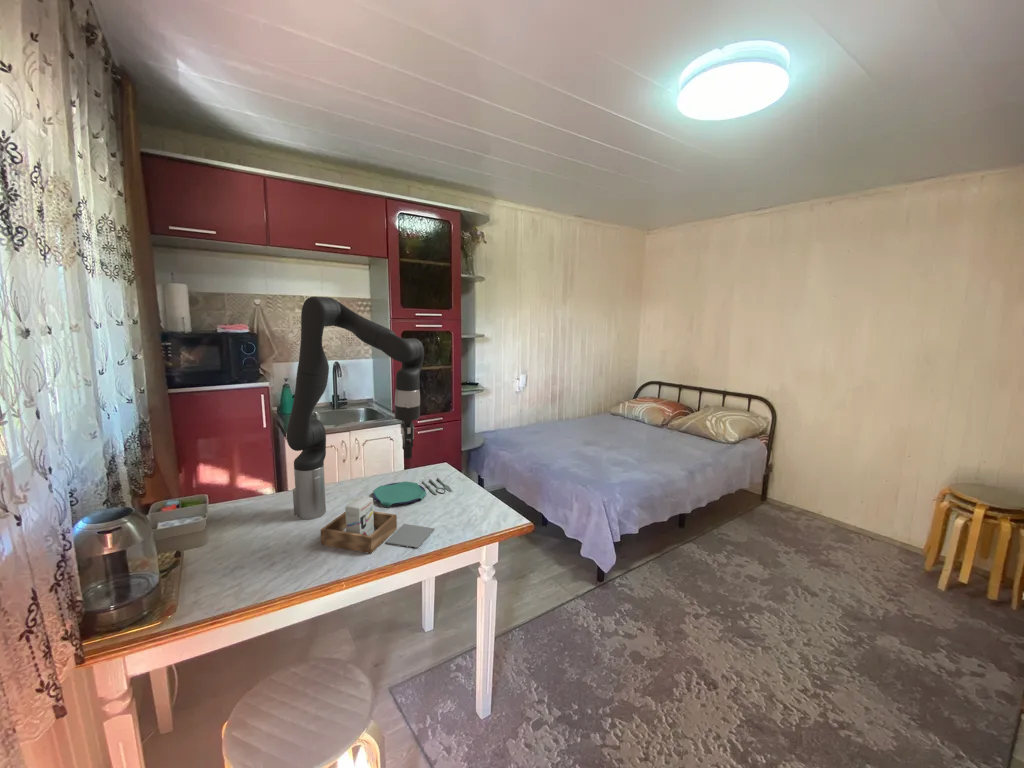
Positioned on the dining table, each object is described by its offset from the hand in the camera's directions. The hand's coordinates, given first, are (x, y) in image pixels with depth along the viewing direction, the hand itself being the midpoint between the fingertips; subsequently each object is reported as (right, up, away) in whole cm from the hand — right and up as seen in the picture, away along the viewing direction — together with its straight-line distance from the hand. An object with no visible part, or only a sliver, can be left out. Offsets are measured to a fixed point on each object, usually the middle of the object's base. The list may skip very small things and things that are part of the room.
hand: (406, 453), depth 132 cm
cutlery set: (-6, -22, +34) cm, 41 cm away
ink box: (-15, -27, 0) cm, 30 cm away
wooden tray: (-15, -26, 0) cm, 30 cm away
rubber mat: (+1, -27, +1) cm, 27 cm away
